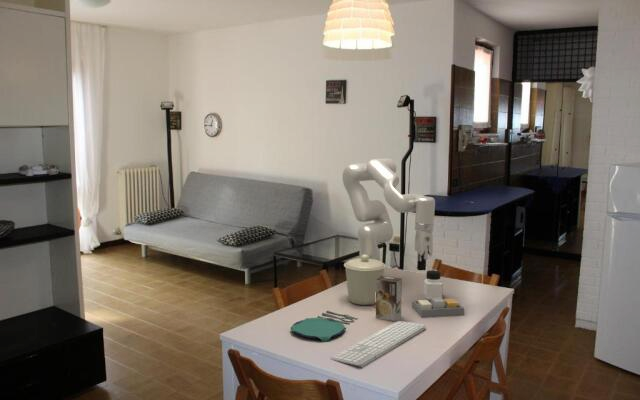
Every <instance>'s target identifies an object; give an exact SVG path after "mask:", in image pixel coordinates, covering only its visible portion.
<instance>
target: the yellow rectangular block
mask: <svg viewBox="0 0 640 400" xmlns="http://www.w3.org/2000/svg"><path fill="white" fill-rule="evenodd" d="M442 299H443V300H444V301H445V305H446V306H447V307H449V308H457V305H458V304H459V303H458V302H457V301H456V300H455V299H453V298H442Z"/></svg>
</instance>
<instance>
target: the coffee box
mask: <svg viewBox="0 0 640 400" xmlns="http://www.w3.org/2000/svg"><path fill="white" fill-rule="evenodd" d="M402 285H403V283H402V278H399V277H394V276H393V277H392V276H385V275H383V276H380V277H379V278H378V279H376V303H375V318H376V319H378V320H379V319H380V320H386V321H392V322H397V321H400V319H401V318H402Z"/></svg>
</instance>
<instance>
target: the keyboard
mask: <svg viewBox="0 0 640 400" xmlns="http://www.w3.org/2000/svg"><path fill="white" fill-rule="evenodd" d="M425 328H426V324H423V323H422V324H421V323H414V322H409V321H403V320H401V321H400V320H398V321H394V322H393V323H391V324H389V325H387V326H386V327H384V328H382V329H380V330H378V331H376V332H374V333H373V334H370V335H369V336H367V337H365V338H363V339H361V340H360V341H357V342H356V343H354V344H353V345H351V346H348V347H347V348H345V349H343V350H341V351H339V352H338V353H336V354H334V355H332V356H331V357H330V358H329V359H330V360H333V361H336V362H340V363H343V364H347V365H351V366H356V367H359V368H363V367H365V366H367V365H368V364H370V363H371V362H373V361H375V360H377V359H378V358H380V357H381V356H383V355H385V354H386V353H388V352H390V351H391V350H393V349H395V348H396V347H398V346H399V345H401V344H403V343H404V342H407V341H408V340H410V339H411V338H413V337H415V336H416V335H418V334H420V333H421V332H423V331H425Z"/></svg>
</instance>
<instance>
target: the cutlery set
mask: <svg viewBox="0 0 640 400" xmlns="http://www.w3.org/2000/svg"><path fill="white" fill-rule="evenodd" d="M321 315H322V316H319V315H318V316H317V317H310V318H309V317H308V318H304V319H302V320H299V321H296V322H295V323H294V324H292V325H291V327H290V330H291V333H295V334H296V335H298V336H301V337H304V338H310V339H320V340H321V341H322V342H327V341H329V340H330V339H331V338H335V337H337V336H339V335H342V334H343V333H344V332H345V330H346V329H347V327H346V326H345V325H350V323H351V322H352V323H353V322H354V321H356V320H358V319H359V318H357V317H354V316H350V315H349V314H342V313H336V312H334V311H330V310H326V313H325V312H322V313H321ZM323 316H327V317H323ZM335 318H336V319H335Z"/></svg>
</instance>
